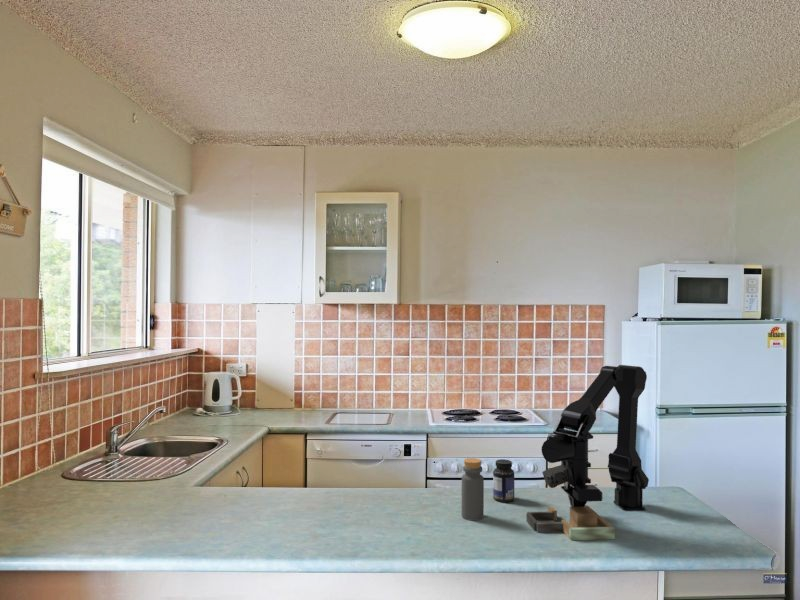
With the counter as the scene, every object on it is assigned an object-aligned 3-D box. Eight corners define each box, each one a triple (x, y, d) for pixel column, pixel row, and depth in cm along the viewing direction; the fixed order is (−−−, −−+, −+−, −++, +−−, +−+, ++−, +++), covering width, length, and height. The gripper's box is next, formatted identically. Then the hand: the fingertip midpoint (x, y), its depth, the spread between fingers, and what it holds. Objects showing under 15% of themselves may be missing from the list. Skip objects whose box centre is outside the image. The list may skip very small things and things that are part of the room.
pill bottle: (513, 496, 168) (513, 458, 168) (515, 503, 162) (515, 464, 162) (492, 495, 169) (492, 458, 169) (493, 502, 163) (493, 463, 163)
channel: (587, 514, 154) (587, 505, 154) (614, 538, 138) (614, 528, 138) (522, 516, 152) (522, 506, 152) (542, 540, 136) (542, 530, 136)
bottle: (458, 518, 150) (458, 461, 151) (466, 511, 156) (466, 456, 156) (479, 522, 148) (479, 464, 148) (486, 514, 153) (486, 459, 153)
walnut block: (588, 526, 146) (588, 506, 146) (597, 533, 141) (597, 513, 141) (569, 526, 145) (569, 506, 145) (577, 534, 140) (577, 514, 140)
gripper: (534, 448, 156) (534, 505, 156) (559, 467, 138) (558, 532, 138) (574, 447, 157) (573, 504, 157) (603, 467, 139) (603, 531, 138)
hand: (576, 517), depth 147 cm, fingers closed
